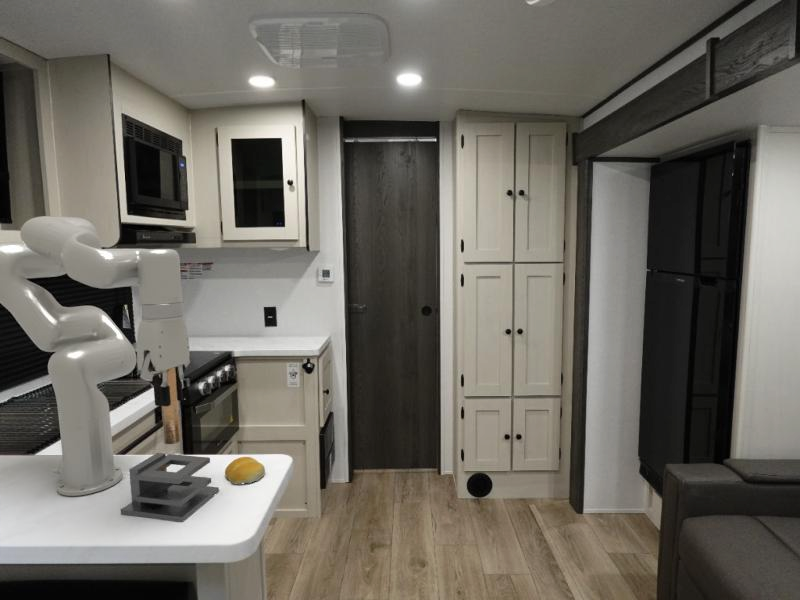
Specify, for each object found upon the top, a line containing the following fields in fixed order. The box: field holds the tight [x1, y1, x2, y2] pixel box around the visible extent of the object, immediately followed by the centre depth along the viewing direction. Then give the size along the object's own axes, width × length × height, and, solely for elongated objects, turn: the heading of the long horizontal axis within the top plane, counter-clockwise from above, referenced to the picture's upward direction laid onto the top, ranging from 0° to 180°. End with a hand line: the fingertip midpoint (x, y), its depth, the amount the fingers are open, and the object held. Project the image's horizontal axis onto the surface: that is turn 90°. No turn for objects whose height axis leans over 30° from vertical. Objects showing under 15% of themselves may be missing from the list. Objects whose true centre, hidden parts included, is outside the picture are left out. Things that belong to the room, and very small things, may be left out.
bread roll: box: [224, 456, 266, 485], centre depth 114 cm, size 8×9×4 cm
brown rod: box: [158, 368, 182, 445], centre depth 100 cm, size 3×3×20 cm
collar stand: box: [120, 452, 220, 523], centre depth 103 cm, size 14×12×8 cm
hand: (169, 401), depth 100 cm, fingers closed on brown rod, 3 cm apart
